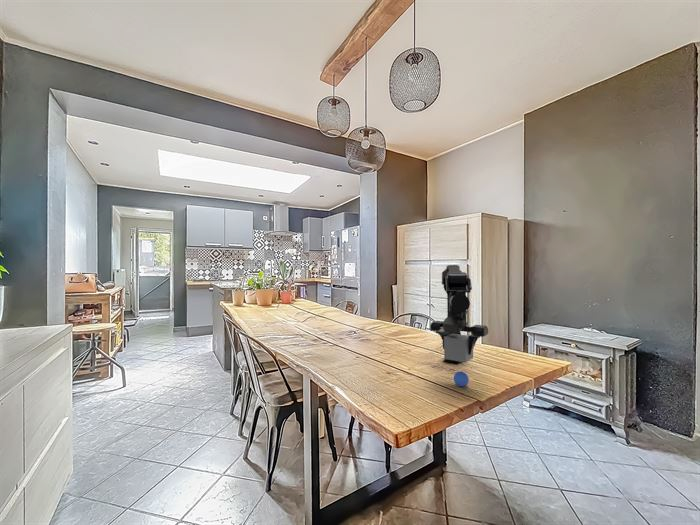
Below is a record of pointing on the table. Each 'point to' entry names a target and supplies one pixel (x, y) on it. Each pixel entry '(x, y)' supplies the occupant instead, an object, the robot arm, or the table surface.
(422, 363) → the table surface
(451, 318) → the robot arm
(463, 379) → the ball
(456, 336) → the concrete-looking gray cube
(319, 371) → the table surface
